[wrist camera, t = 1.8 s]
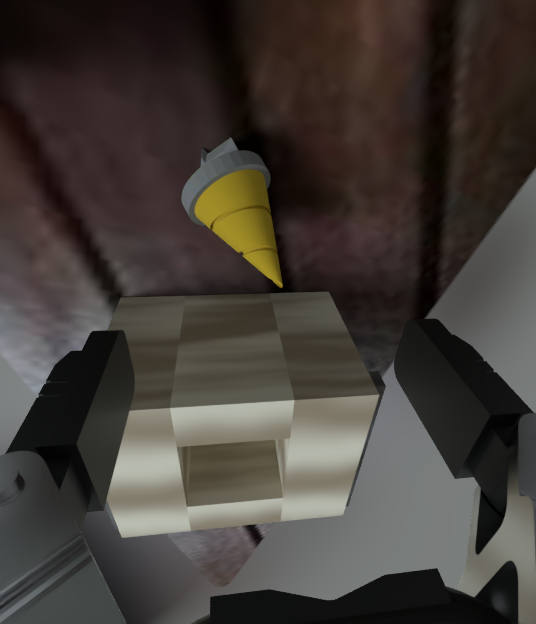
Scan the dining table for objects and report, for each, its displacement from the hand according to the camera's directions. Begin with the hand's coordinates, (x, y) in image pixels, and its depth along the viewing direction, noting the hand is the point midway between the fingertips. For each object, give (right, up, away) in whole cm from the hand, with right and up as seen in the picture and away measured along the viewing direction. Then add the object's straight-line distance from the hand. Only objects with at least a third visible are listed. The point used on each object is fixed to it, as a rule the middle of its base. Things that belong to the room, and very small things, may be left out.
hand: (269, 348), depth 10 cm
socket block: (-3, -3, +21) cm, 22 cm away
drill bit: (-2, +9, +13) cm, 16 cm away
